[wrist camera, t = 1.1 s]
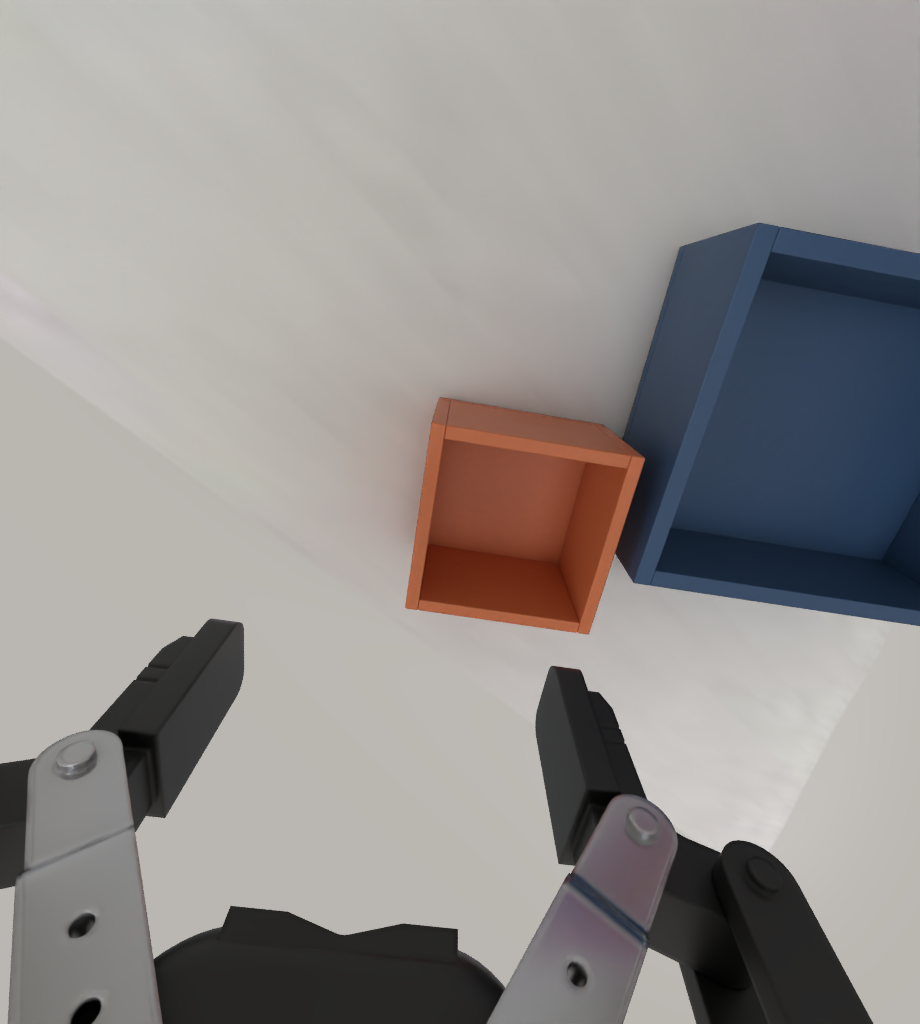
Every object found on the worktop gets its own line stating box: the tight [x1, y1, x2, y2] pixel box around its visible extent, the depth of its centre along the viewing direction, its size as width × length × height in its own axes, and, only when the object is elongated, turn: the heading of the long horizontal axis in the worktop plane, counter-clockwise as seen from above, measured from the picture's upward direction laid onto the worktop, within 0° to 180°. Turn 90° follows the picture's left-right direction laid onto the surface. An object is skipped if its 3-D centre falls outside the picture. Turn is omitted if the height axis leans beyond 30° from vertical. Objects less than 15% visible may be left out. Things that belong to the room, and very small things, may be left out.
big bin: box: [615, 223, 920, 626], centre depth 23 cm, size 18×15×7 cm
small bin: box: [405, 397, 645, 634], centre depth 25 cm, size 9×9×6 cm
